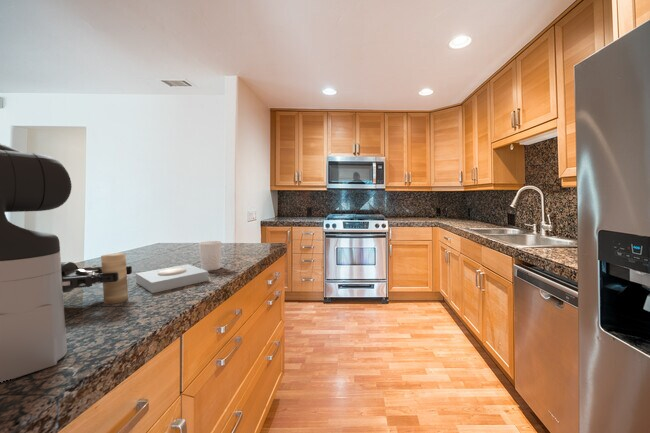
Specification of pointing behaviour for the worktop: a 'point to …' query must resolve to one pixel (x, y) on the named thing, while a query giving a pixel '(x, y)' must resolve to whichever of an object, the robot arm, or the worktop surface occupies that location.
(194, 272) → the light grey plinth
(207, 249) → the white cup
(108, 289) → the maple pillar
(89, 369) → the worktop surface
